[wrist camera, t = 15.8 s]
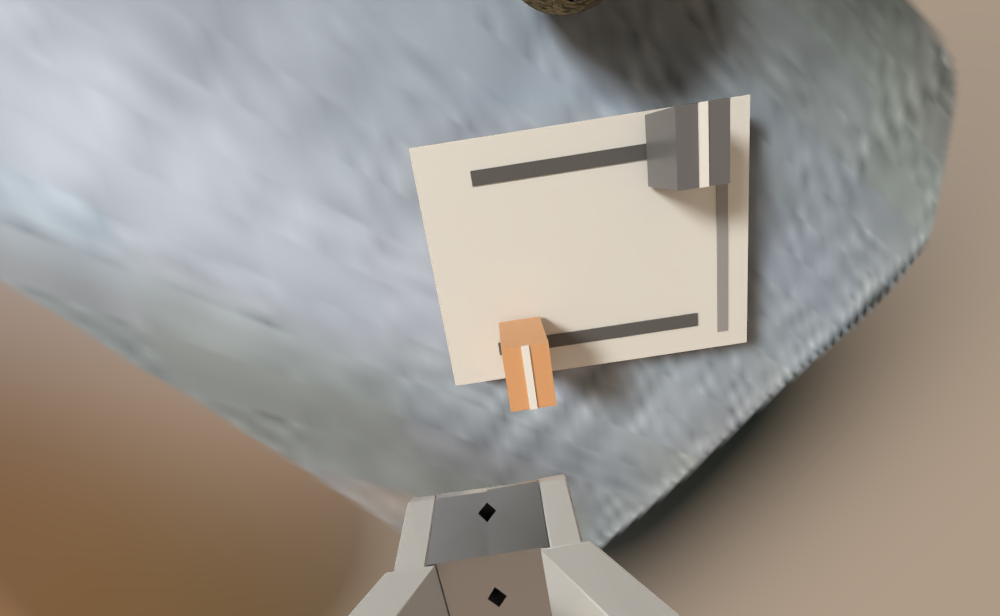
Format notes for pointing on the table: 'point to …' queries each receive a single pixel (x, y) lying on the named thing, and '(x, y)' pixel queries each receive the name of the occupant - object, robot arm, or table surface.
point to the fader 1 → (527, 364)
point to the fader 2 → (689, 145)
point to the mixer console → (582, 244)
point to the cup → (562, 6)
